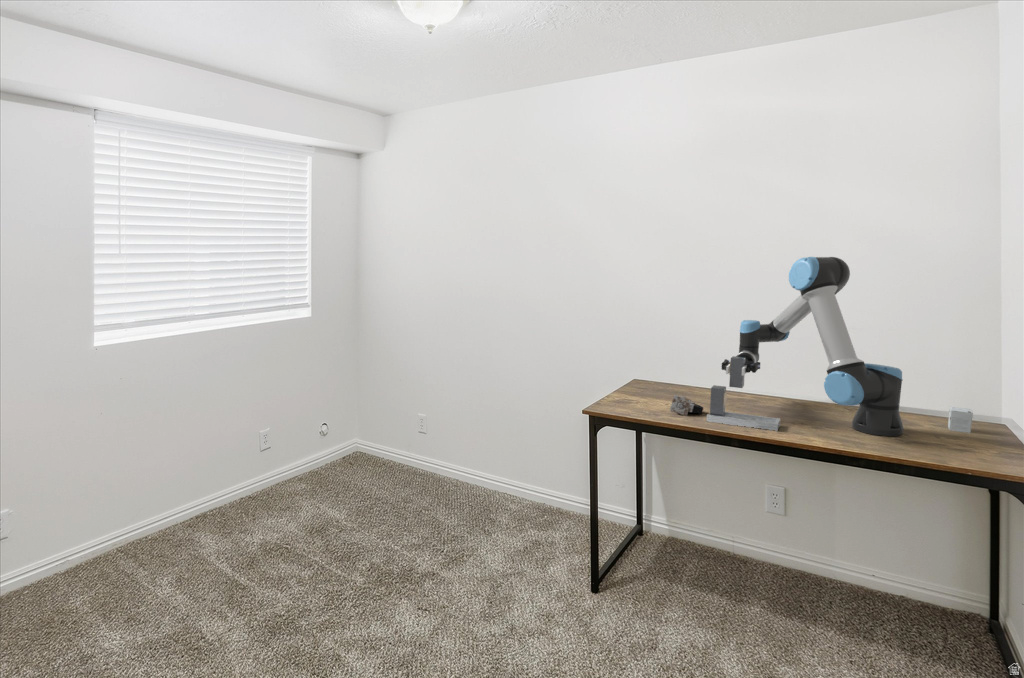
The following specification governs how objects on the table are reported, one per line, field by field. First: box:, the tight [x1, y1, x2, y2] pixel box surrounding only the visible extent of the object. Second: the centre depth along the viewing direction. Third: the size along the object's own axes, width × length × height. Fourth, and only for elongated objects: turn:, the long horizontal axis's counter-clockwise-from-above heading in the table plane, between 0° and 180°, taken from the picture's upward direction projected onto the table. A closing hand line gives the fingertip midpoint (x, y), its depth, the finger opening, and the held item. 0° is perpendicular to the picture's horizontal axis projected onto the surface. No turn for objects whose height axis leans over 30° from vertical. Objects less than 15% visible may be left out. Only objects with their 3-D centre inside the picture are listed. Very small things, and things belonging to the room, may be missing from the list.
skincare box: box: [947, 406, 974, 434], centre depth 199 cm, size 6×6×7 cm
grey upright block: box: [728, 355, 746, 389], centre depth 213 cm, size 5×4×11 cm
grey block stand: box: [706, 384, 781, 432], centre depth 207 cm, size 24×8×12 cm, turn 60°
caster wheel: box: [669, 394, 704, 417], centre depth 222 cm, size 7×11×10 cm
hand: (734, 371), depth 209 cm, fingers closed on grey upright block, 5 cm apart
